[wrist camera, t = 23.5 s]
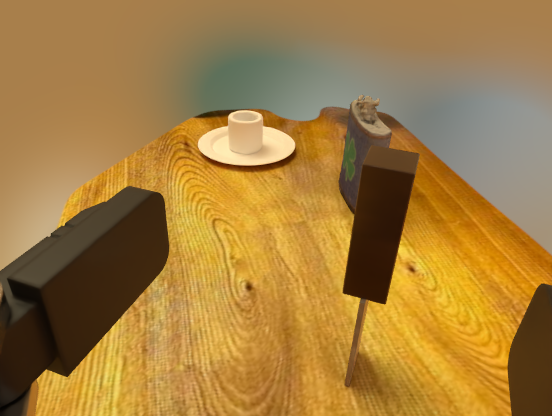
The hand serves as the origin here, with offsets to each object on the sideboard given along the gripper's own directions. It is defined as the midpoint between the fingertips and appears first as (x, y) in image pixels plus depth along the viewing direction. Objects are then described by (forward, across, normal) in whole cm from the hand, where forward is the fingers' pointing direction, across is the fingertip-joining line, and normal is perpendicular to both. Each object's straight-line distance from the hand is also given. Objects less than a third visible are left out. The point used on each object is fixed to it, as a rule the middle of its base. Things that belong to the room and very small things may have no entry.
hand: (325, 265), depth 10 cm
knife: (+13, 0, +18) cm, 22 cm away
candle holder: (+41, +19, +18) cm, 49 cm away
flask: (+35, +4, +18) cm, 40 cm away
